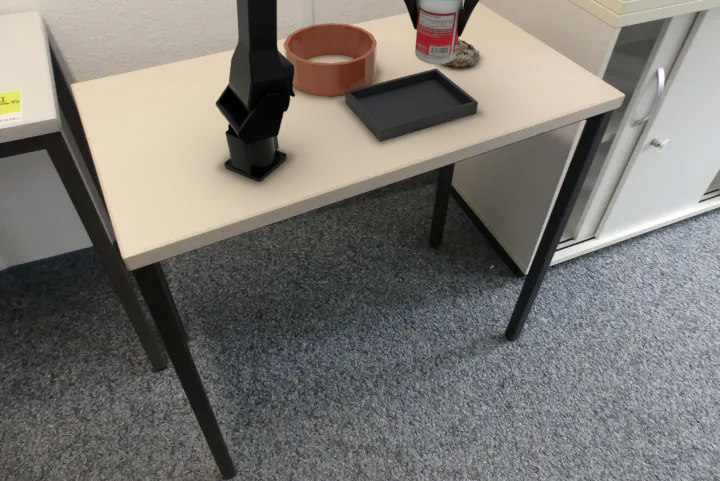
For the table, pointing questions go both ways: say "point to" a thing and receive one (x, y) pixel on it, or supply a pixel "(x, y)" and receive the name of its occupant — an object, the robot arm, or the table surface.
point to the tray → (410, 103)
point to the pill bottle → (438, 30)
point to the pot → (331, 75)
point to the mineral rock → (464, 55)
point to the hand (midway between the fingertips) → (438, 32)
